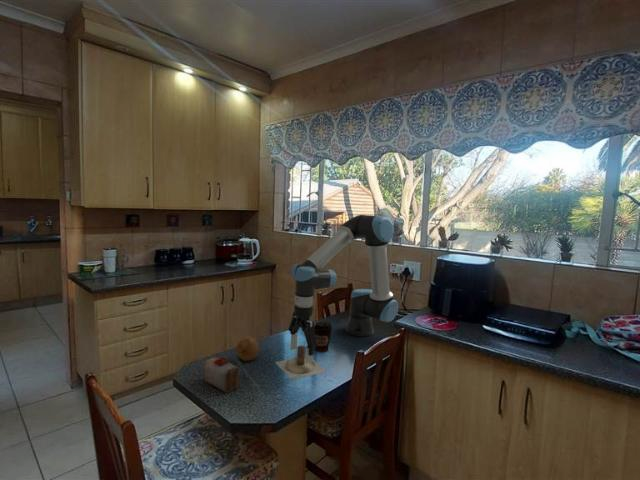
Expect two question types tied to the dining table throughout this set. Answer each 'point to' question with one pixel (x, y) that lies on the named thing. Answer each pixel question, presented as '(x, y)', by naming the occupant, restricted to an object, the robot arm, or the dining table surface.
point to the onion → (248, 348)
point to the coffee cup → (322, 335)
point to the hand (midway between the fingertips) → (301, 355)
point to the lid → (300, 363)
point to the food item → (221, 374)
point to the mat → (296, 375)
